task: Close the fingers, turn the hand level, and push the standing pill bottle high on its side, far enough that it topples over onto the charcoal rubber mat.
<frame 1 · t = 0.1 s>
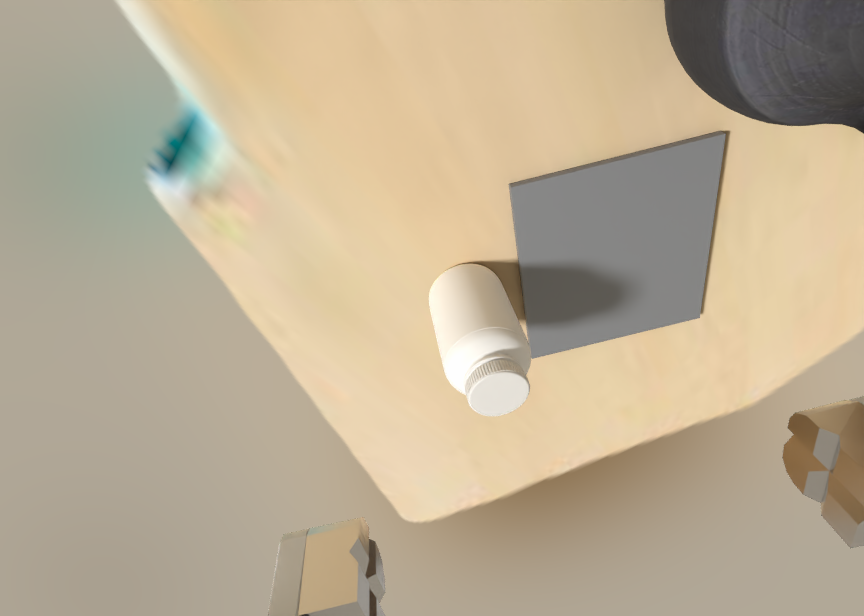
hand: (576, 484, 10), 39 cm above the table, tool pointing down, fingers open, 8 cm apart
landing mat: (613, 256, 55), on the table
pill bottle: (464, 291, 55), on the table
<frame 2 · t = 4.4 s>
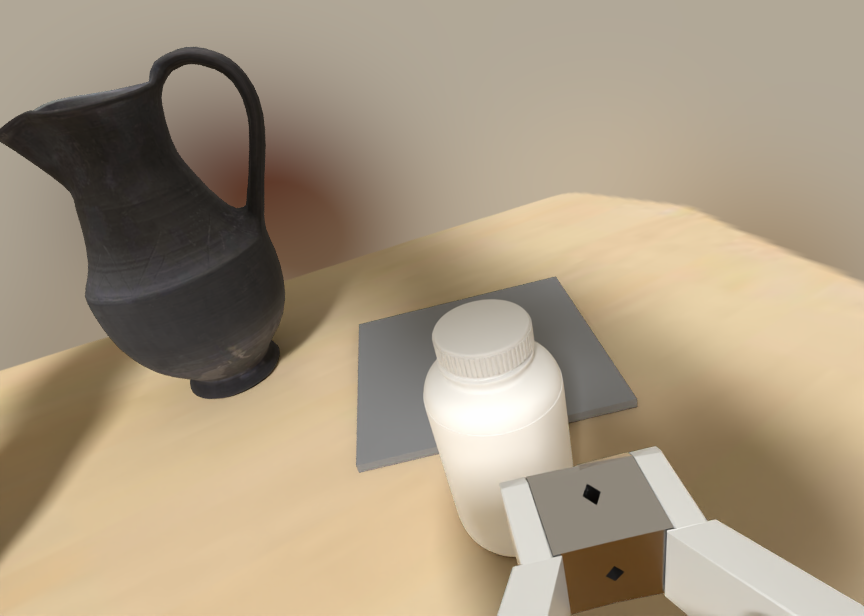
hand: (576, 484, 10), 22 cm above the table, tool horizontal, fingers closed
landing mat: (474, 361, 49), on the table
pill bottle: (516, 507, 35), on the table
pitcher: (255, 362, 57), on the table
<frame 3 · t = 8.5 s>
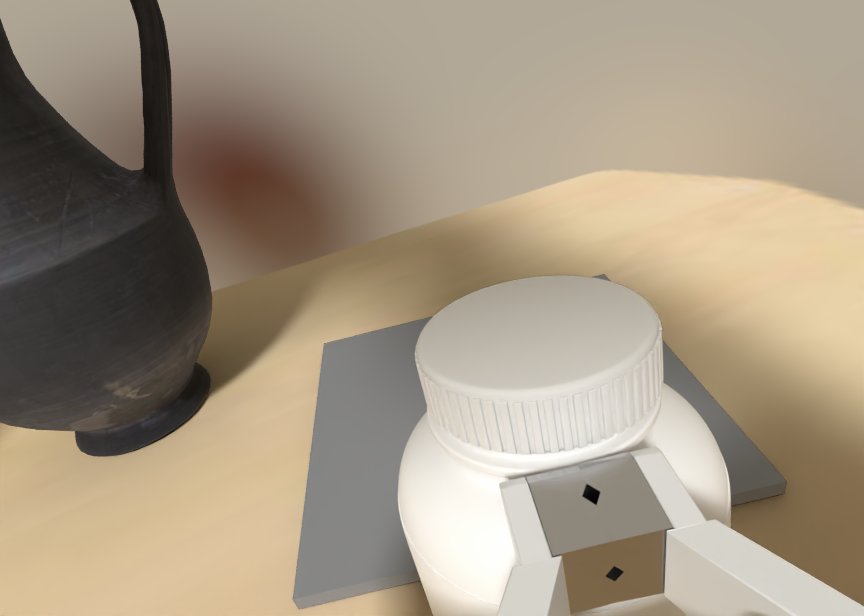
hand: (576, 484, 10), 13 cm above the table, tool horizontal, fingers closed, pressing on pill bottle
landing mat: (492, 402, 32), on the table
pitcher: (175, 399, 40), on the table
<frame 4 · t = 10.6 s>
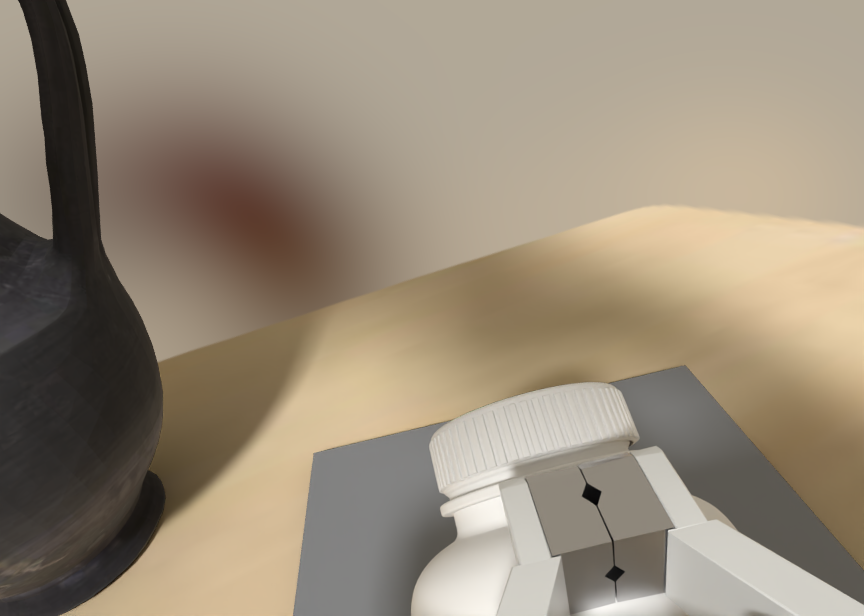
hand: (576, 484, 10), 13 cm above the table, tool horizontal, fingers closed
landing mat: (550, 582, 22), on the table
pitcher: (118, 525, 30), on the table
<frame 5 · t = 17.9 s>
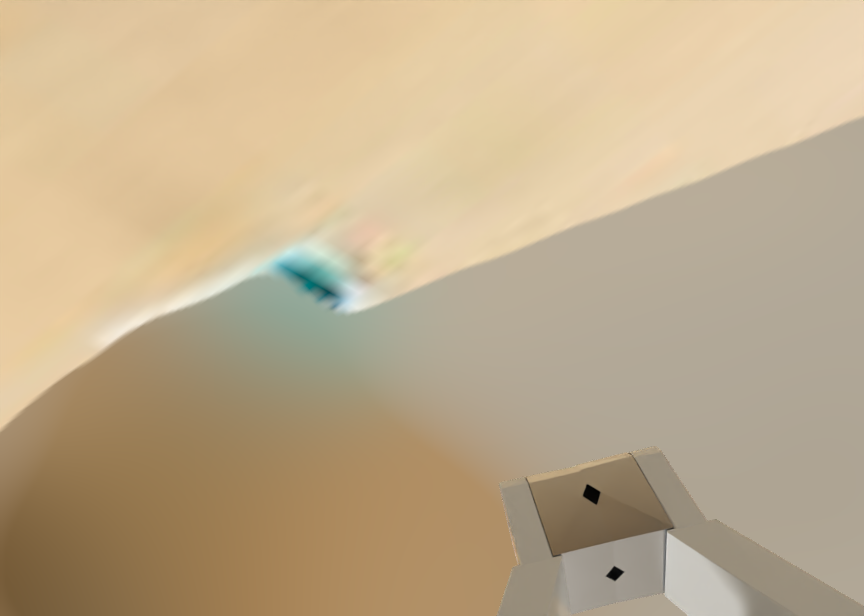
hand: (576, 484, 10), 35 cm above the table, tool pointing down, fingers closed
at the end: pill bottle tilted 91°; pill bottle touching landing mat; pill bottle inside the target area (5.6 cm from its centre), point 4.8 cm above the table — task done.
